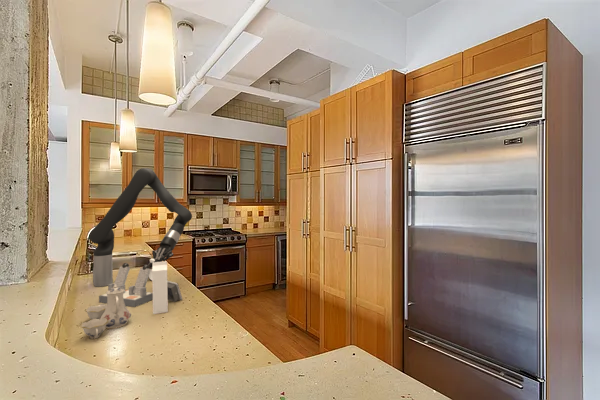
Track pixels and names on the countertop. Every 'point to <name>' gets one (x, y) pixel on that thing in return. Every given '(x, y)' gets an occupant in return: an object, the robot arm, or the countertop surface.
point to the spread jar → (150, 268)
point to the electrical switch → (173, 291)
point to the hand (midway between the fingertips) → (154, 267)
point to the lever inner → (122, 274)
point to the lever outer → (141, 279)
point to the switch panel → (130, 296)
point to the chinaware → (107, 314)
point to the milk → (159, 287)
